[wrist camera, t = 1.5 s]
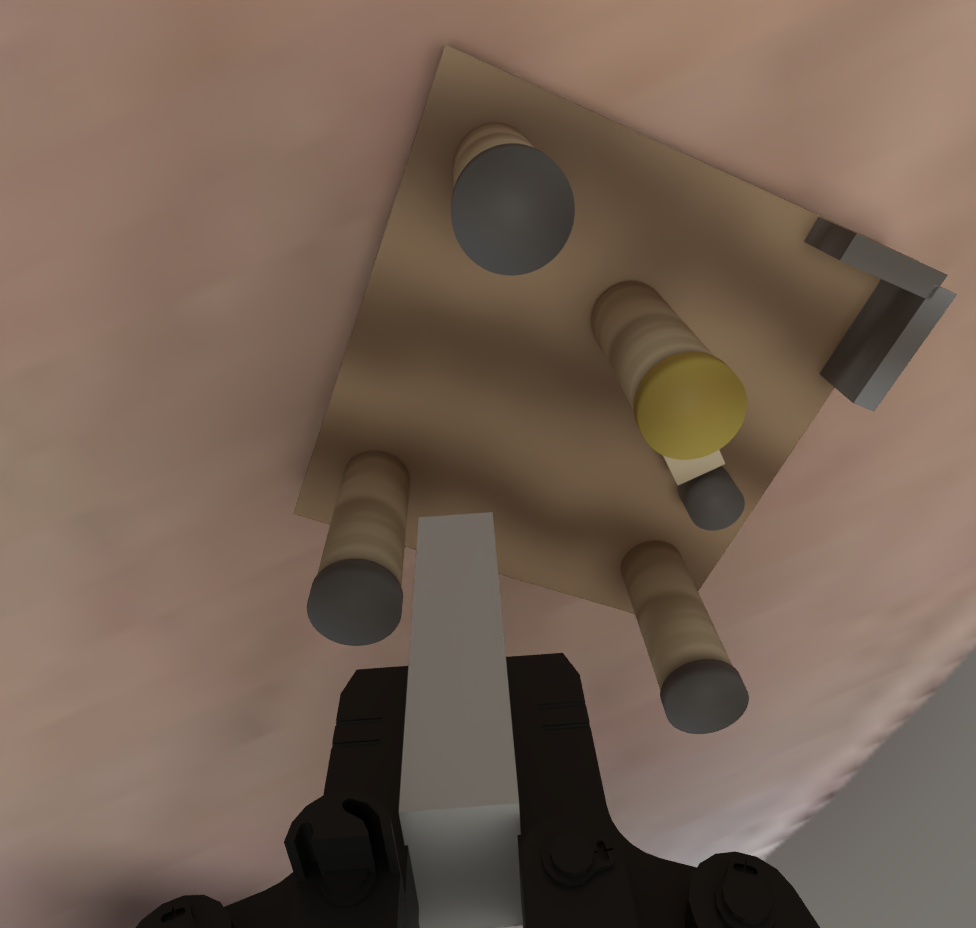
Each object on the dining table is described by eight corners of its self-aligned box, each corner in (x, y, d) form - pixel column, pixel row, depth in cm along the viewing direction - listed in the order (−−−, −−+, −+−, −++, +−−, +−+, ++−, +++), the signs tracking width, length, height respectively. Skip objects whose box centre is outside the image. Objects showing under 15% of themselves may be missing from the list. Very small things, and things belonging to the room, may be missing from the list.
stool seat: (662, 594, 40) (733, 771, 30) (302, 485, 35) (246, 651, 26) (886, 246, 31) (1089, 335, 21) (445, 45, 27) (443, 38, 17)
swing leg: (746, 491, 33) (834, 620, 26) (681, 520, 34) (748, 654, 26) (650, 264, 28) (726, 341, 20) (575, 303, 29) (622, 393, 21)
